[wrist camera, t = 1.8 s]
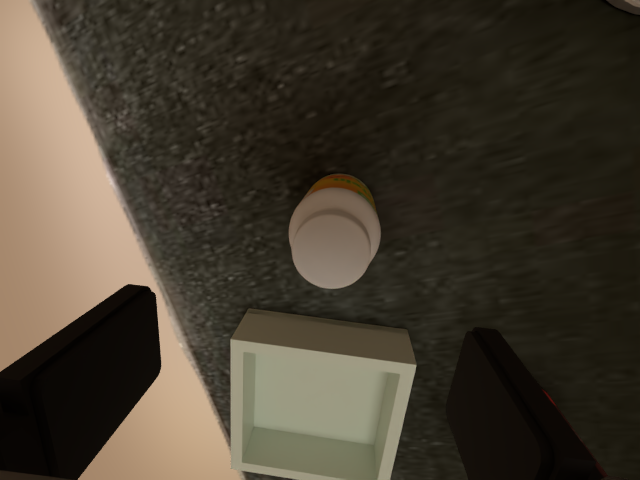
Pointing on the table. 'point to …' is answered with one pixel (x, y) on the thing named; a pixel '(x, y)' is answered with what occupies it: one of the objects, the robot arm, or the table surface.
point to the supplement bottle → (334, 231)
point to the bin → (317, 396)
